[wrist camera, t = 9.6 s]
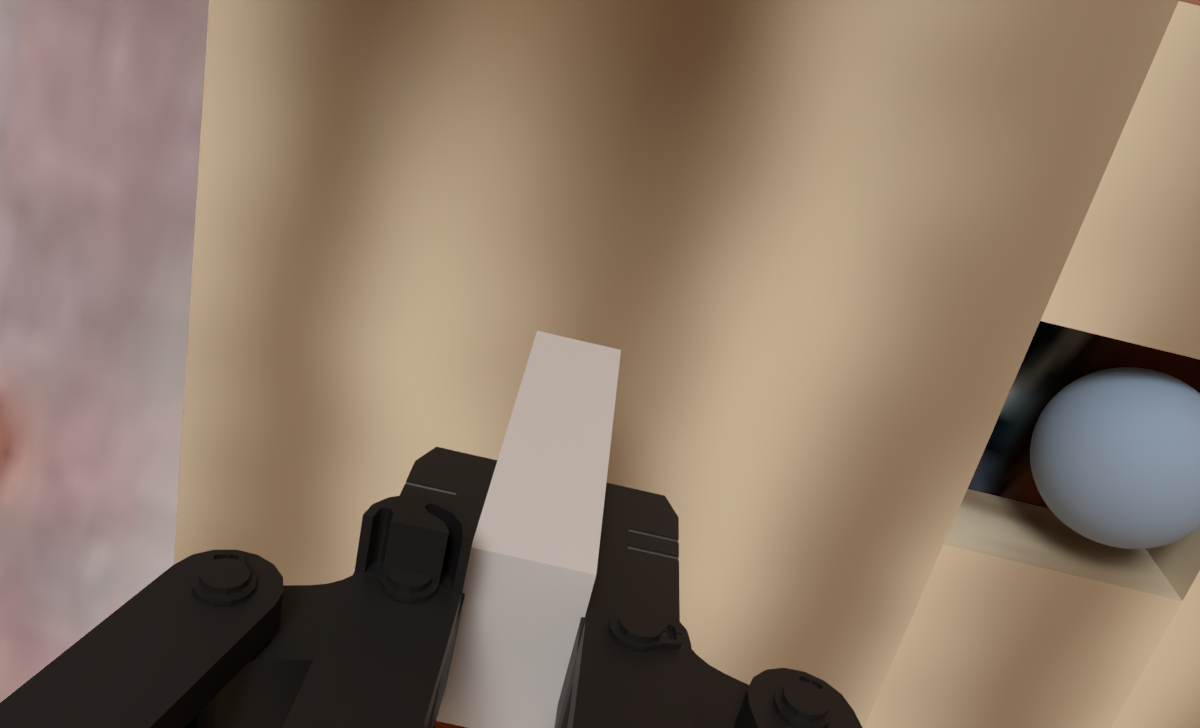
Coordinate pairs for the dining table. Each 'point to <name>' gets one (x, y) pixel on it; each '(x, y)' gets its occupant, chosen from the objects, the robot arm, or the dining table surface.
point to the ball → (1121, 457)
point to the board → (715, 306)
